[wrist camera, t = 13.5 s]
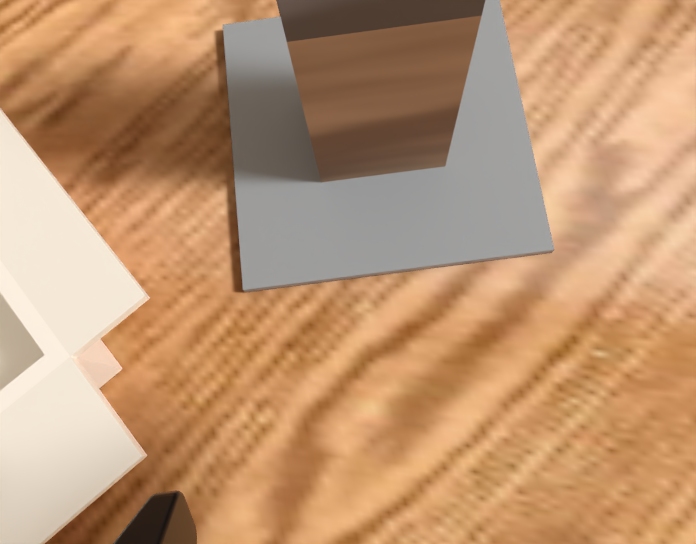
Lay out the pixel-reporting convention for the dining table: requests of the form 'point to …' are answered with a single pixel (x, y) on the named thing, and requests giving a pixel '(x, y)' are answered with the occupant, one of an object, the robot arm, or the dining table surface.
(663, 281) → the dining table surface
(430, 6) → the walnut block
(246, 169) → the slate mat
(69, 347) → the carton
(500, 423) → the dining table surface
